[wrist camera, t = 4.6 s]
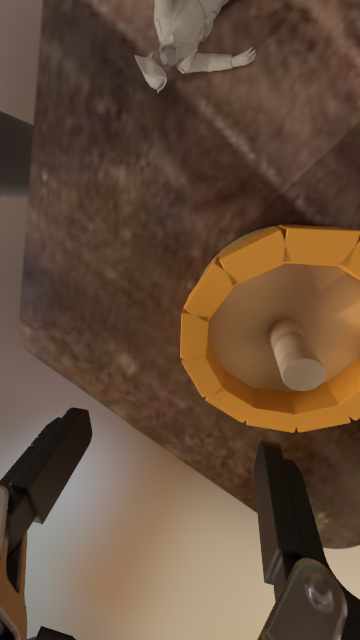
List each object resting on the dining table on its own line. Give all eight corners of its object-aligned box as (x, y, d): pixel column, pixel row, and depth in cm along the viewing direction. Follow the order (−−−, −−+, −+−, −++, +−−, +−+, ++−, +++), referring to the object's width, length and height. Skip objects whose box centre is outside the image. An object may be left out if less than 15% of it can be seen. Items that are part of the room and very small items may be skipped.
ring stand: (189, 370, 29) (172, 442, 20) (197, 220, 22) (176, 228, 13) (339, 391, 27) (396, 483, 18) (406, 228, 19) (558, 245, 10)
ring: (182, 393, 26) (178, 413, 23) (190, 221, 18) (184, 223, 16) (358, 420, 23) (373, 445, 21) (449, 231, 16) (490, 235, 13)
